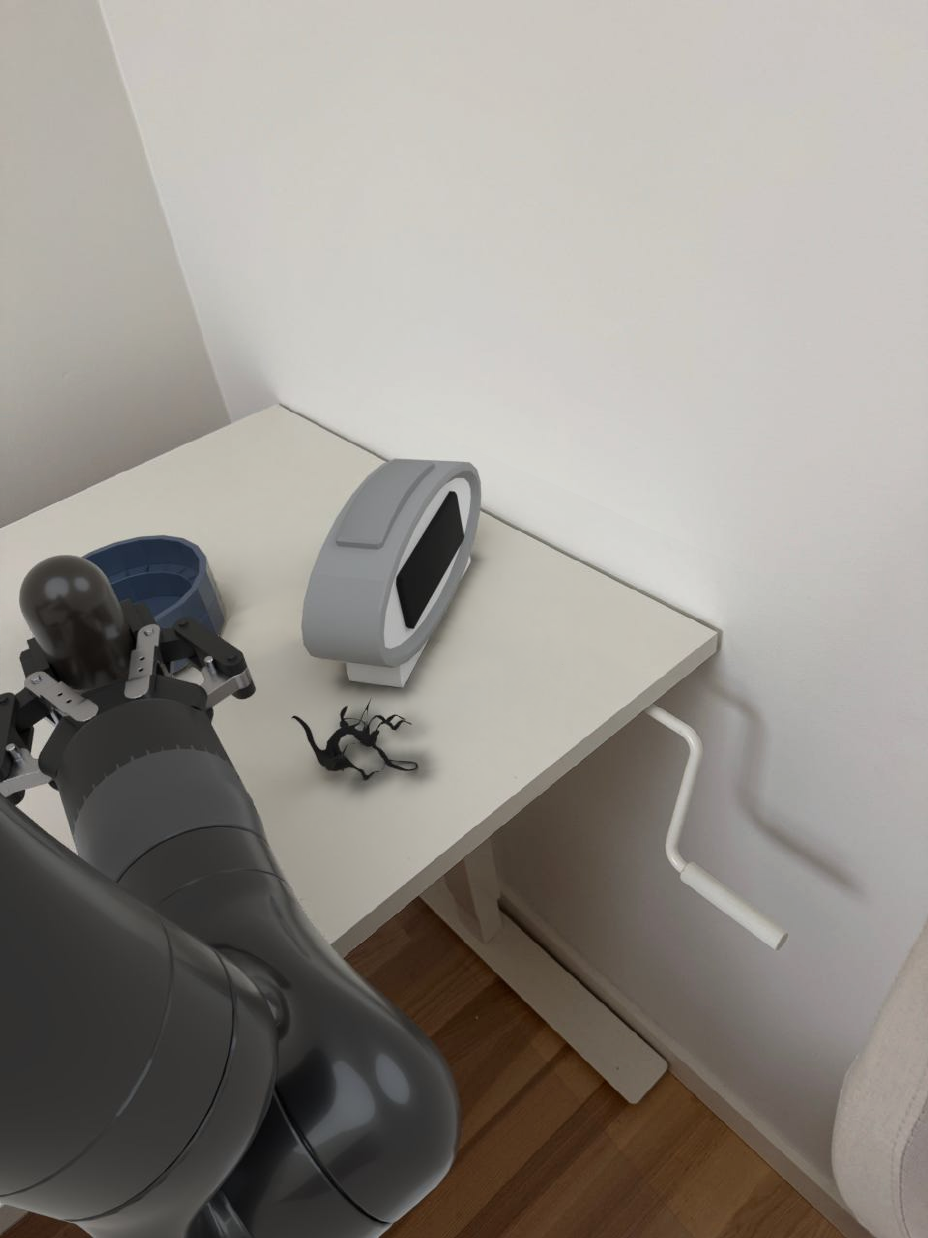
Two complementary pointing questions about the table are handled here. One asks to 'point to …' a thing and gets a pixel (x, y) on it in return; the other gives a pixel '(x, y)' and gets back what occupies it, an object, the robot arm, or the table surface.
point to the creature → (332, 752)
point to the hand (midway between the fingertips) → (84, 631)
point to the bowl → (163, 580)
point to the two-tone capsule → (77, 622)
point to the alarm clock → (391, 567)
